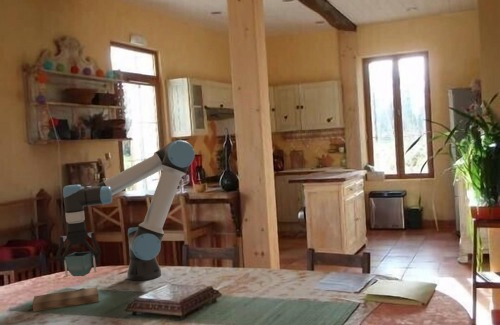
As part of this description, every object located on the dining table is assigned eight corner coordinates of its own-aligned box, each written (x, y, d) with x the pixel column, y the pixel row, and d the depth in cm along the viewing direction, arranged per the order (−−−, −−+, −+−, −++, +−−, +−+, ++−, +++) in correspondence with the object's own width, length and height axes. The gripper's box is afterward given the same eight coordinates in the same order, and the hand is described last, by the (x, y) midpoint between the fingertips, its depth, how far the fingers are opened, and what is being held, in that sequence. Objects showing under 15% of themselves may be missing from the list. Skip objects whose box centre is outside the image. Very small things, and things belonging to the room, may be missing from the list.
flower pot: (85, 277, 231) (83, 255, 231) (66, 278, 233) (64, 256, 233) (95, 272, 240) (93, 251, 239) (76, 273, 241) (74, 252, 241)
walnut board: (97, 294, 231) (96, 287, 231) (99, 301, 219) (98, 293, 219) (34, 303, 223) (34, 296, 223) (33, 311, 212) (32, 303, 212)
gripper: (103, 217, 243) (108, 267, 243) (46, 224, 235) (52, 276, 236) (104, 219, 235) (110, 271, 236) (45, 226, 228) (51, 280, 229)
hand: (81, 273), depth 236 cm, fingers closed on flower pot, 11 cm apart
